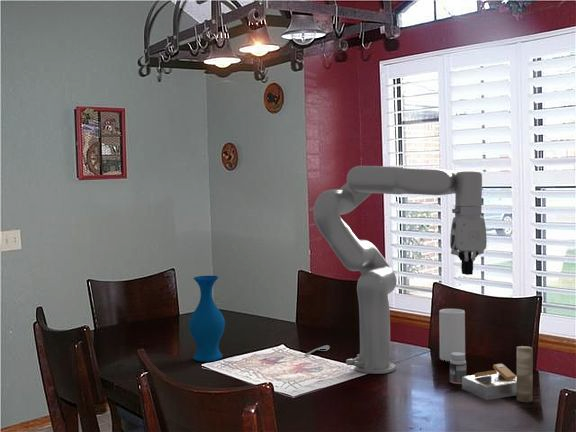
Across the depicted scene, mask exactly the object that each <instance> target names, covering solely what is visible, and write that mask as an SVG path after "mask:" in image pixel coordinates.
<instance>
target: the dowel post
mask: <svg viewBox="0 0 576 432" xmlns="http://www.w3.org/2000/svg"><path fill="white" fill-rule="evenodd" d="M533 355H534V354H533V347H531V346H526V345H525V346H524V345H521V346H516V376H517V395H516V401H517V402H522V403H531V402H533V399H534V398H533V397H534V396H533V391H534V390H533V387H534V386H533V370H534V369H533V359H534V356H533Z"/></svg>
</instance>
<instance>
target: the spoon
mask: <svg viewBox="0 0 576 432" xmlns="http://www.w3.org/2000/svg"><path fill="white" fill-rule="evenodd" d="M330 347H331V346H330V345H328V344H327V345H323V346H320V347H317V348H315V349H312V350H311V351H309V352H306V353H305V354H303V355H304V356H306V357H307V355H308V356H309V355H311V354H312V353H314V352H316V351H319V352H326V351H328V350H329V349H330ZM320 349H326V350H320Z"/></svg>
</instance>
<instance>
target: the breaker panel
mask: <svg viewBox="0 0 576 432" xmlns="http://www.w3.org/2000/svg"><path fill="white" fill-rule="evenodd" d="M496 372H497V371H496ZM461 390H464V391H466V392H468V393H470V394H473V395H475V396H477V397H479V398H482V399H484V400H486V401H491V400H497V399H502V398H508V397H514V396H517V375H516V377H515V379H510V380H506V379H505V378H504V377H502V376H501V375H500V374H499V373H498V372H497V374H493V375H487V376H481V377H475V375H474V374H472V375H471V374H470V375H466V376H462V384H461Z"/></svg>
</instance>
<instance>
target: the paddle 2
mask: <svg viewBox="0 0 576 432" xmlns="http://www.w3.org/2000/svg"><path fill="white" fill-rule="evenodd" d="M492 368H493V369H494V370H496V371H497V372H498V373H499V374H500V375H501V376H502V377H504V378H505V379H506V380H510V379H515V377H516V376H517V374H515V373H514V372H512V370H511V369H509V368H508V367H507V366H506V365H505V364H504V363H496V364H493V366H492Z"/></svg>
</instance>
